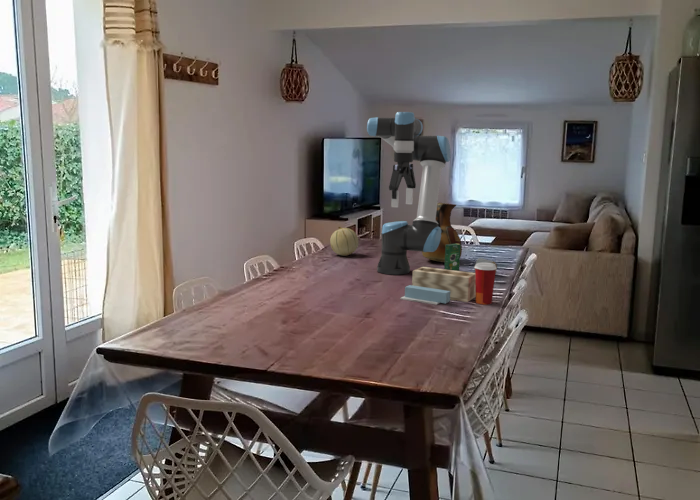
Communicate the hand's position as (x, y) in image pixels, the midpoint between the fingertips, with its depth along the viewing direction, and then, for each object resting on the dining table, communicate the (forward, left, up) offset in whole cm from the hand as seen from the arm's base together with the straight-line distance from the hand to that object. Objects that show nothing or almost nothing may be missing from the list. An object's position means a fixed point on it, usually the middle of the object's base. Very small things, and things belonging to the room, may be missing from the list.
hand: (402, 205), depth 259 cm
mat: (+9, +14, -35) cm, 38 cm away
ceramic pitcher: (-67, -8, -35) cm, 76 cm away
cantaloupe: (-54, -57, -35) cm, 86 cm away
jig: (-2, +19, -35) cm, 40 cm away
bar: (+9, +16, -34) cm, 39 cm away
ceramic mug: (-49, +21, -35) cm, 64 cm away
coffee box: (-47, +5, -35) cm, 59 cm away
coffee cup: (0, +36, -35) cm, 50 cm away
